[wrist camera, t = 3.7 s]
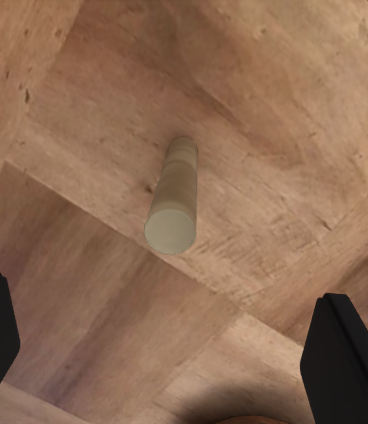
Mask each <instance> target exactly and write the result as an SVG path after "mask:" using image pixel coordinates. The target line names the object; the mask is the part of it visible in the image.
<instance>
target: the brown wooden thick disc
mask: <svg viewBox="0 0 368 424" xmlns="http://www.w3.org/2000/svg"><path fill="white" fill-rule="evenodd" d="M214 424H290V423H286V422H282V421H278V420H274V419H270V418H266V417H262V416H258V415H256V416H236V417H233V418H230V419H227V420H223V421H220V422H217V423H214Z"/></svg>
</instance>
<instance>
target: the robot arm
mask: <svg viewBox="0 0 368 424" xmlns="http://www.w3.org/2000/svg"><path fill="white" fill-rule="evenodd" d="M19 349H20V338H19V333H18V329H17V324H16V319H15V315H14V310H13V306H12V301H11V296H10V292H9V287H8V282H7V279H6V278H5V277H3V276H2V275H1V273H0V383H1V381H2V380H3V378H4V376H5V375H6V373H7V371H8V370H9V368H10V366H11V365H12V363H13V361H14V360H15V358H16V356H17V354H18V352H19ZM300 372H301V376H302V380H303V383H304V386H305V390H306V393H307V396H308V400H309V403H310V407H311V410H312V413H313V417H314V420H315V423H316V424H368V330H367V328H366V327H365V325H364V323H363V321H362V320H361V318H360V316H359V314H358V313H357V311H356V309H355V307H354V306H353V304H352V302H351V301H350V299H349V297H348V296H347V295H345V294H334V293H325V294H324V296H323V298H318V299H317V301H316V305H315V309H314V313H313V316H312V320H311V324H310V327H309V331H308V335H307V339H306V342H305V346H304V350H303V354H302V357H301V361H300Z"/></svg>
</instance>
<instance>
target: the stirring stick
mask: <svg viewBox="0 0 368 424" xmlns="http://www.w3.org/2000/svg"><path fill="white" fill-rule="evenodd" d="M197 171H198V148H197V145H196V143H195V142H194V141H193V140H192V139H190V138H188V137H178V138H176V139H174V140H173V141H172V142H171V144H170V146H169V149H168V152H167V155H166V159H165V162H164V165H163V168H162V171H161V175H160V178H159V181H158V184H157V187H156V191H155V194H154V197H153V200H152V203H151V207H150V210H149V213H148V216H147V220H146V223H145V226H144V235H145V238H146V240H147V242H148V244H149V245H150V246H151V247H152V248H153V249H154V250H156V251H158V252H160V253H162V254H167V255H175V254H180V253H182V252H184V251H186V250H187V249H188V248H190V247H191V245H192V244H193V243H194V241H195V238H196V220H197Z"/></svg>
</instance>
